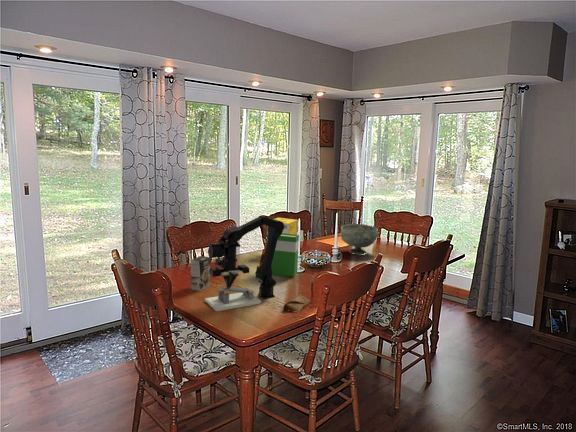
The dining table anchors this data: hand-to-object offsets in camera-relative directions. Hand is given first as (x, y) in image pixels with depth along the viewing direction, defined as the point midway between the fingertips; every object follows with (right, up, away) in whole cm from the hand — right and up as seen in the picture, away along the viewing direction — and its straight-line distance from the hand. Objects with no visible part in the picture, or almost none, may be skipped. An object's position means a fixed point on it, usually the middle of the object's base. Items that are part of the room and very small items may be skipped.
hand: (228, 287), depth 203 cm
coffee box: (-18, -4, +21) cm, 27 cm away
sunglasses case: (+33, -10, +2) cm, 35 cm away
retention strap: (+3, -2, +2) cm, 5 cm away
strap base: (+2, -8, +3) cm, 8 cm away
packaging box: (+24, +6, +91) cm, 95 cm away
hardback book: (+25, 0, +51) cm, 57 cm away
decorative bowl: (+79, +7, +107) cm, 133 cm away
